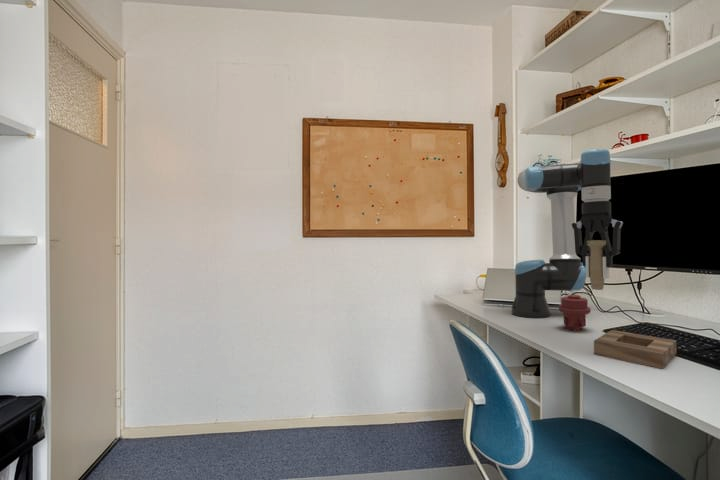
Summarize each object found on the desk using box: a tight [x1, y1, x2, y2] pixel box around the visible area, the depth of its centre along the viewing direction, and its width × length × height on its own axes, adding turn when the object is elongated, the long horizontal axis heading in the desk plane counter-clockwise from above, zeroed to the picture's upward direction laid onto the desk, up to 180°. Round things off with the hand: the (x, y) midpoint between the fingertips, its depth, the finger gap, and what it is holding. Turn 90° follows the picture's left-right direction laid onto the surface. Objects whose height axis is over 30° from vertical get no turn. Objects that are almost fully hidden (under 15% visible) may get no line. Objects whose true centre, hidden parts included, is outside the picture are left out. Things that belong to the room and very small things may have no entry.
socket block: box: [593, 329, 677, 370], centre depth 107 cm, size 16×16×4 cm
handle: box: [587, 239, 606, 291], centre depth 112 cm, size 5×6×15 cm
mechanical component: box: [558, 294, 591, 332], centre depth 134 cm, size 12×10×10 cm
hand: (597, 277), depth 112 cm, fingers closed on handle, 4 cm apart
